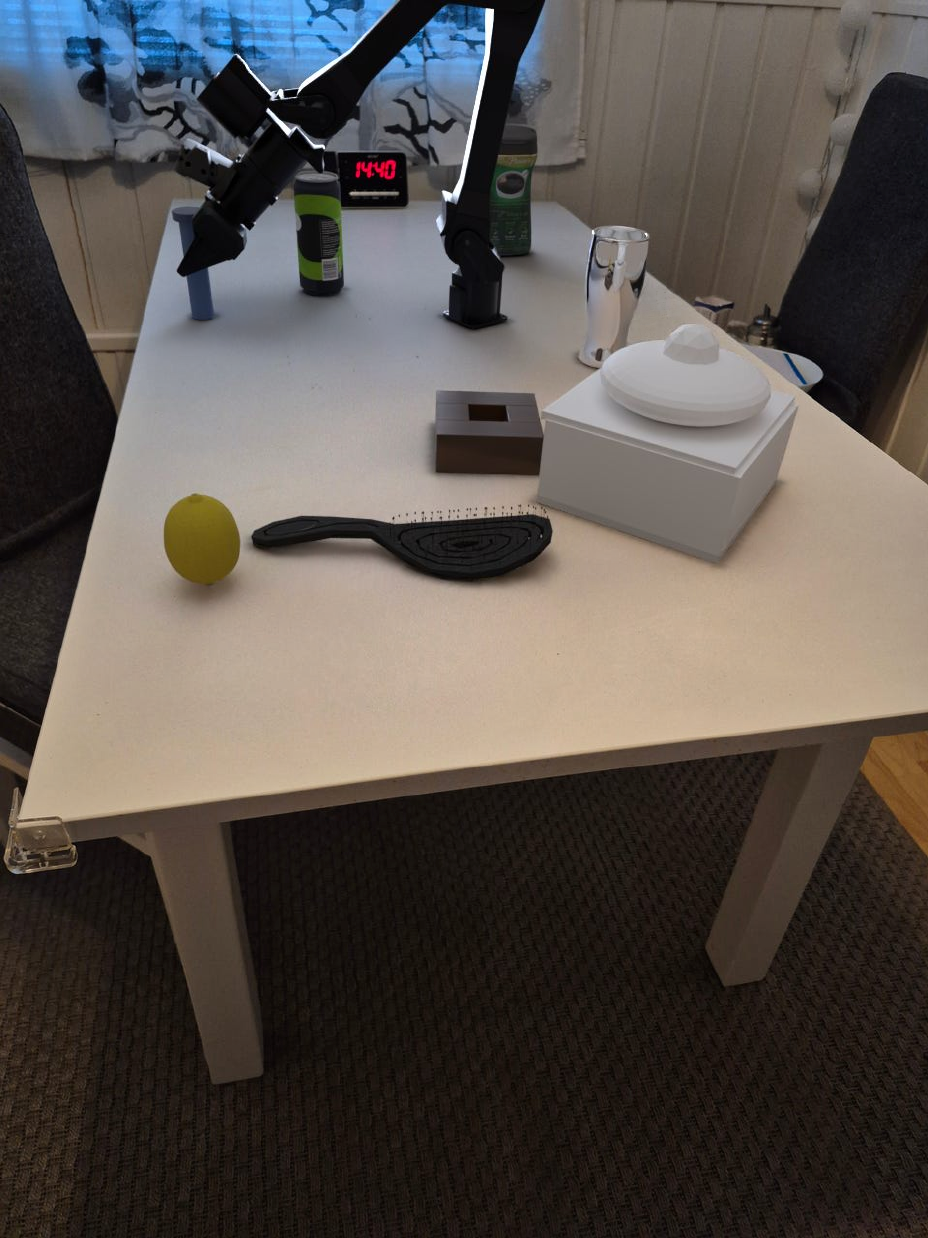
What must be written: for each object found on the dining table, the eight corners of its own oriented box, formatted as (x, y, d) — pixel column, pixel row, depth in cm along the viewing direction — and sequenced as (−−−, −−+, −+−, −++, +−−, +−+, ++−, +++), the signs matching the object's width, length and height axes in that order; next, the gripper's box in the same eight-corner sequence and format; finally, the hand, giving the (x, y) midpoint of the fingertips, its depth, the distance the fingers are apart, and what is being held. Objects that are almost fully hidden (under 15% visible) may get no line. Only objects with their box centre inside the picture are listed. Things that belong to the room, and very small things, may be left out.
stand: (435, 425, 93) (436, 389, 91) (530, 428, 94) (534, 392, 91) (435, 472, 85) (436, 434, 83) (540, 474, 86) (544, 437, 83)
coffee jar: (521, 243, 150) (531, 119, 139) (535, 256, 144) (546, 128, 133) (466, 244, 148) (472, 119, 137) (477, 257, 142) (484, 128, 131)
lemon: (179, 564, 71) (162, 476, 66) (249, 563, 71) (238, 476, 67) (166, 605, 67) (148, 514, 62) (241, 604, 67) (228, 514, 62)
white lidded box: (717, 564, 74) (765, 385, 65) (531, 500, 82) (549, 330, 72) (777, 482, 87) (824, 321, 77) (610, 432, 94) (634, 279, 84)
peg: (210, 309, 118) (196, 204, 110) (224, 317, 116) (211, 211, 108) (182, 314, 116) (166, 208, 108) (196, 323, 113) (180, 215, 105)
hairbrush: (259, 487, 75) (551, 491, 75) (265, 524, 78) (549, 528, 77) (236, 540, 69) (556, 545, 68) (243, 579, 71) (553, 583, 70)
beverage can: (348, 284, 129) (344, 171, 119) (339, 298, 124) (334, 181, 114) (306, 281, 129) (298, 168, 120) (295, 295, 124) (287, 178, 115)
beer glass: (637, 356, 111) (658, 230, 102) (621, 374, 106) (642, 244, 97) (585, 345, 114) (601, 221, 104) (567, 363, 108) (582, 234, 99)
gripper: (220, 102, 109) (144, 196, 115) (199, 128, 94) (113, 234, 100) (289, 173, 115) (213, 260, 120) (280, 209, 100) (194, 305, 106)
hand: (185, 263), depth 111 cm, fingers open, 8 cm apart
